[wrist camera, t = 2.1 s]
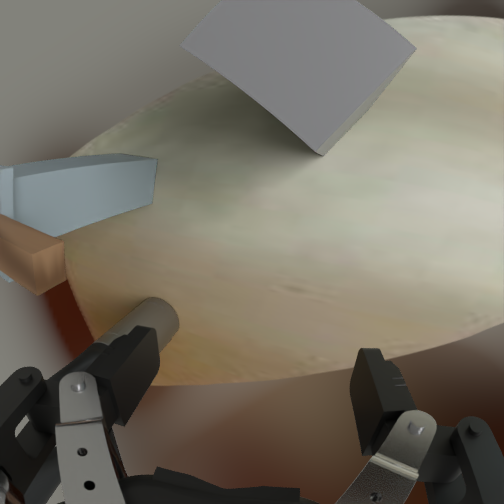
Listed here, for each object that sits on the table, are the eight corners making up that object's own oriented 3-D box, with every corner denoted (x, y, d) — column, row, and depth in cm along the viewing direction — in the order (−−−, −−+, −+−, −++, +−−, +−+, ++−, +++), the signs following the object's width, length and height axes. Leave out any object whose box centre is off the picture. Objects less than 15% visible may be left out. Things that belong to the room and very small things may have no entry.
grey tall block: (368, 110, 38) (417, 48, 13) (323, 156, 42) (315, 152, 17) (306, 58, 37) (272, -45, 13) (263, 104, 41) (179, 46, 16)
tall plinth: (162, 214, 51) (9, 283, 22) (112, 201, 53) (-32, 250, 24) (171, 152, 47) (0, 169, 18) (117, 145, 49) (-37, 162, 20)
